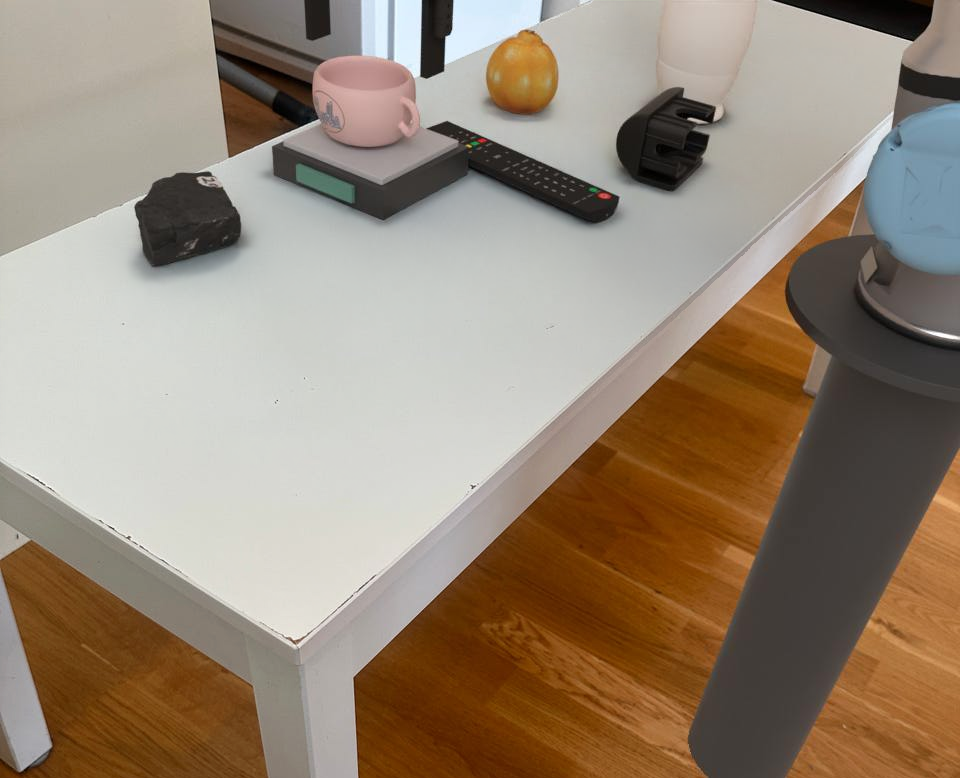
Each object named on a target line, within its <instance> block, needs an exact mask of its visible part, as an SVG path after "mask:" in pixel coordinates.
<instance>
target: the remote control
mask: <svg viewBox="0 0 960 778" xmlns="http://www.w3.org/2000/svg"><path fill="white" fill-rule="evenodd" d="M425 129H428V130H431V131H433V132H436V133H439V134H441V135H444V136H447V137H450V138H452V139H455V140H458V141H459V143H460V144H462V145H465V146H468V147H469V158H468V167H471V168H473V169H476V170H478V171H480V172H482V173H484V174H486V175H489V176H491V177H493V178H495V179H497V180H500V181H502V182H503V183H506V184H508V185H510V186H512V187H515V188H517V189H519V190H521V191H524V192H526V193H527V194H530V195H533V196H535V197H537V198H539V199H541V200H543V201H545V202H548V203H550V204H552V205H554V206H556V207H558V208H561V209H563V210H565V211H568V212H569V213H571V214H574V215H576V216H578V217H579V218H580V217H581V218H582V219H585V220H587V221H590V222H594V223H601V222H604V221H607V220H609V218H611V217H612V216H613V215H614V213H615V211H616V209H617V207H618V206H619V202H620V196H619V195H617V194H614V193H613V192H610V191H609V190H606V189H603V188H602V187H599V186H597V185H595V184H593V183H590V182H588V181H585V180H583V179H580V178H579V177H576V176H574V175H571V174H569V173H567V172H565V171H562V170H561V169H558V168H556V167H553V166H551V165H549V164H546V163H544V162H542V161H540V160H538V159H535V158H533V157H530V156H528V155H526V154H523V153H522V152H519V151H517V150H515V149H513V148H510V147H508V146H506V145H503V144H501V143H499V142H496V141H494V140H492V139H490V138H488V137H485V136H483V135H480V134H478V133H476V132H474V131H472V130H469V129H467V128H464V127H463V126H460V125H458V124H456V123H453V122H451V121H449V120H445V121H442V122H439V123H436V124H434V125H432V126H429V127H426V128H425Z"/></svg>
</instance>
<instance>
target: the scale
mask: <svg viewBox="0 0 960 778" xmlns="http://www.w3.org/2000/svg"><path fill="white" fill-rule="evenodd" d="M411 126H412V122H410V124H409V126H408V128H409V129H410V128H411ZM271 154H272V168H273V175H274V176H276V177H278V178H281V179H284V180H286V181H288V182H291V183H293V184H295V185H298V186H301V187H303V188H305V189H307V190H310V191H312V192H315V193H317V194H320V195H322V196H324V197H327V198H329V199H331V200H334V201H337V202H339V203H341V204H344V205H346V206H349V207H351V208H352V209H353V208H354V209H355V210H358V211H360V212H363V213H366V214H368V215H370V216H373V217H375V218H378V219H379V220H381V221H382V220H383V221H384V220H386V219H388V218H389V217H392V216H393V215H396V214H397V213H399V212H401V211H403V210H404V209H407V208H408V207H411V206H412V205H414V204H416V203H417V202H419V201H421V200H423V199H425V198H427V197H429V196H430V195H433V194H434V193H436V192H438V191H439V190H441V189H443V188H445V187H447V186H449V185H451V184H453V183H454V182H457V181H458V180H460V179H462V178H463V177H466V176H467V175H468V173H469V172H468V171H469V165H468V158H469V147H468V146H465V145H462V144H460V143H459V141H458V140H455V139H452V138H450V137H447V136H444V135H441V134H439V133H436V132H433V131H431V130H428V129H426V128H425V127H422V126H420V127H419V130H418V132H417V133H416V135H415V136H413V137H407V136H405V135H403V136H402V137H401V138H400V139H399V140H398V141H396V142H394V143H391V144H388V145H384V146H376V147H361V146H354V145H348V144H345V143H342V142H339V141H337V140H335V139H333V138H332V137H330V136H329V134H328V133H327V132H326V131H325V130H324V128H323V126H322V124H321V123H320V124H316V125H315V126H312V127H310V128H308V129H305V130H303V131H301V132H299V133H296V134H294V135H292V136H289V137H287V138H285V139H283V140H282V141H281V142H279V143H276V144H274V145H272V146H271Z"/></svg>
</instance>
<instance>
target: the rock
mask: <svg viewBox="0 0 960 778" xmlns="http://www.w3.org/2000/svg"><path fill="white" fill-rule="evenodd" d="M133 206H134V207H133V208H134V213H135V217H136V219H137V222H138V223H137V224H138V225H137V226H138V229H139V233H140V235H139V237H140V240H141V245H142V247H141V249H142V253H143V255H144V257H145V259H146V260H147V262H148V263H149V264H150V265H151V266H158V265H159V266H160V265H166V264H170V263H174V262H177V261H180V260H182V259H186V258H187V259H188V258H191V257H194V256H197V255H198V256H199V255H205V254H208V253H211V252H215V251H217V250H220V249H223V248H226V247H229V246H231V245H234V243H236V242H237V241H238V240H239V239H240V236H241V234H242V221H241V216H240V212H239V211H238V209H237V208H236V206H235V205H233V202H232V200H231V199H230V197H229V195H228V194H227V191H226V190H225V189H224V186H223V185H222V183H221V182H220V181H219V179H218V177H217V176H215V175H213V173H212V172H211V171H201V172H183V171H182V172H175V174H173V175H172V176H168V177H167V176H165V177H162V178H160V179H157V180H155V181H153V183H152V184H151V187H150V189H149V190H148V193H146V196H144V197H143V198H142V199H140V200H138V201H137V202H135V204H134V205H133Z"/></svg>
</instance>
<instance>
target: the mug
mask: <svg viewBox="0 0 960 778" xmlns="http://www.w3.org/2000/svg"><path fill="white" fill-rule="evenodd" d="M416 88H417V87H416V81H415V77H414V75H413V74H412V72H411V70H410V69H408V68H407V67H406V66H405V65H403V64H401V63H399V62H397V61H395V60H391V59H388V58H384V57H378V56H371V55H343V56H338V57H333V58H330V59H327V60H324V61H323V62H322V63H320V64H319V65H318V66H317V68H316V69H315V71H314V73H313V78H312V102H313V107H314V110H315V112H316V115H317V117H318V119H319V122H320V124H322V126H323V128H324V130H325V131H326V132H327V133H328V134H329V136H330V137H332V138H333V139H335V140H337V141H339V142H342V143H345V144H348V145H354V146H361V147H376V146H384V145H388V144H391V143H394V142H396V141H398V140H399V139H400V138H401V137H402V136H403V135H405V136H407V137H413V136H415V135H416V133H417V132H418V130H419V127H421V116H420V115H421V114H420V111H419V108H418V106H417V104H416V103H417V92H416V91H417V89H416ZM410 123H412V126H411V128H410V129H409V128H408V126H409V124H410Z"/></svg>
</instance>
